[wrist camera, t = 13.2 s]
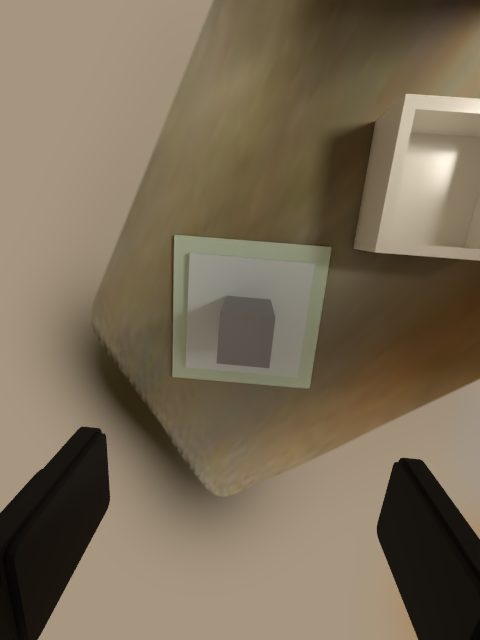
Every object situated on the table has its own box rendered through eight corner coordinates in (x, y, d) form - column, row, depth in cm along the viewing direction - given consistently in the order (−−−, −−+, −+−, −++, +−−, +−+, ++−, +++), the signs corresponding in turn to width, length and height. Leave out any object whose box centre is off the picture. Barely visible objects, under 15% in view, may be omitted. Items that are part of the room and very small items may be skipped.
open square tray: (501, 130, 24) (563, 104, 19) (465, 257, 27) (511, 263, 22) (375, 121, 24) (406, 93, 19) (353, 248, 27) (374, 252, 22)
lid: (313, 263, 27) (332, 273, 21) (296, 374, 30) (308, 413, 24) (191, 252, 27) (172, 258, 21) (187, 363, 30) (169, 400, 24)
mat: (330, 246, 27) (331, 247, 27) (308, 386, 31) (309, 388, 31) (175, 234, 27) (174, 234, 27) (173, 375, 31) (172, 376, 31)
